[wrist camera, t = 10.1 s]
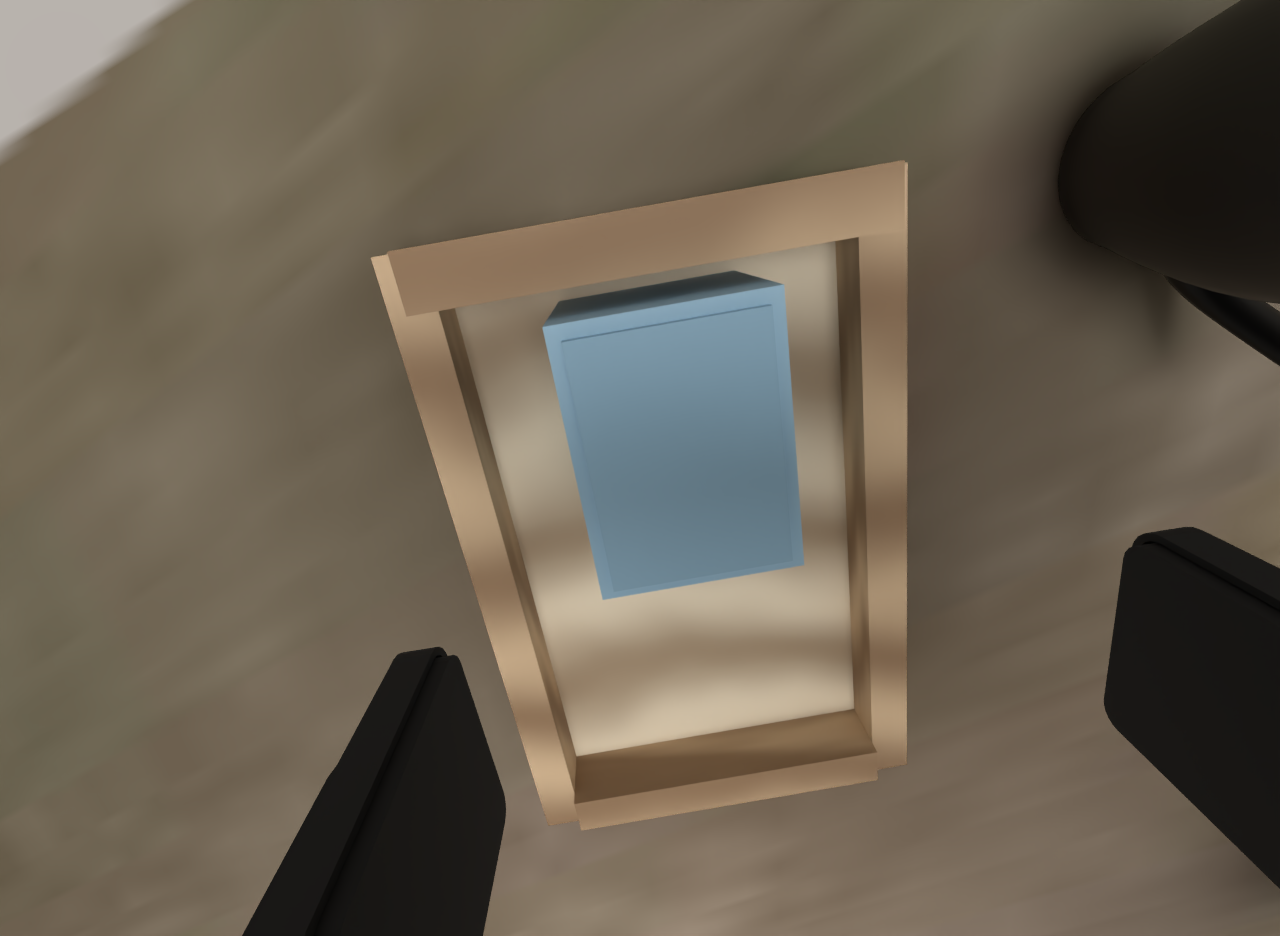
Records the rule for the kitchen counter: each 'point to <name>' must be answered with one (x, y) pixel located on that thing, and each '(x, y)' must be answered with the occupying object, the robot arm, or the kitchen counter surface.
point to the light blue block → (680, 429)
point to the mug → (1192, 170)
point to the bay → (699, 613)
